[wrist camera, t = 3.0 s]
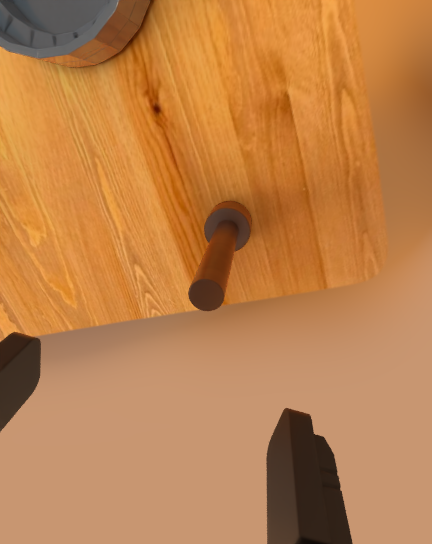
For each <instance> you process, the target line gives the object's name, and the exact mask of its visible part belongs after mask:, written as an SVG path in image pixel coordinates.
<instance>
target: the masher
mask: <svg viewBox="0 0 432 544" xmlns="http://www.w3.org/2000/svg"><path fill="white" fill-rule="evenodd" d="M250 231H251V217H250V214H249V212H248V210H247V209H246V208H245V207H244V206H243V205H241V204H239V203H237V202H233V201H226V202H222V203H220V204H218V205H217V206H215V207H214V208H213V210H212V211H211V213H210V215H209V217H208V218H207V220H206V223H205V227H204V232H205V237H206V239H207V241H208V242H209V245H208V247H207V249H206V252H205V254H204V256H203V258H202V261H201V263H200V265H199V268H198V270H197V272H196V275H195V277H194V279H193V281H192V284H191V286H190V288H189V293H188V295H189V299H190V301H191V303H192V304H193V305H194V306H195V307H196V308H198V309H200V310H203V311H212V310H215V309H217V308H218V307H220V306H221V304H222V303H223V301H224V297H225V292H226V288H227V283H228V278H229V274H230V269H231V265H232V260H233V256H234V251H237V250H239V249H241V248H242V247H243V246H244V245H245V244H246V243H247V241H248V239H249V237H250Z"/></svg>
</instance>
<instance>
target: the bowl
mask: <svg viewBox="0 0 432 544" xmlns="http://www.w3.org/2000/svg"><path fill="white" fill-rule="evenodd" d="M150 1H151V0H0V47H2V48H4V49H5V50H7V51H9V52H13V53H16V54H20V55H24V56H28V57H32V58H36V59H40V60H44V61H48V62H52V63H56V64H60V65H64V66H68V67H73V68H74V67H82V66H89V65H96V64H100V63H101V62H103V61H105V60H107V59H108V58H110V57H112V56H113V55H115V54H117V53H119V52H120V51H121V50H122V49H123V48H124V47H125V46H126V44H127V43H128V42H129V41H130V39H131V38H132V37H133V36H134V34H135V33H136V32H137V31H138V30H139V27H140V26H141V24H142V21H143V18H144V16H145V13H146V11H147V8H148V6H149V3H150Z"/></svg>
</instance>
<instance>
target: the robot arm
mask: <svg viewBox="0 0 432 544" xmlns="http://www.w3.org/2000/svg"><path fill="white" fill-rule="evenodd" d="M40 354H41V343H40V340H39V339H38V338H35V337H31V336H28V335H24V334H21V333H17V332H13V333H11V334H10V335H8V336H7V337H6V338H5V339H4V340H3V341H1V342H0V431H1V430H2V429H3V428H4V427H5V426H6V424H7V423H8V422H9V421H10V420H11V418H12V417H13V416H14V415H15V413H16V412H17V411H18V410H19V409H20V408H21V406H22V405H23V404H24V403H25V401H26V400H27V399H28V398H29V397H30V396H31V394H32V393H33V392H34V390H35V388H36V386H37V384H38V381H39V378H40ZM267 544H352V539H351V535H350V529H349V525H348V520H347V516H346V510H345V506H344V501H343V496H342V491H340V482H339V477H338V476H337V467H336V463H335V458H334V454H333V452H332V450H331V448H330V447H329V445H328V444H327V442H326V440H325V438H324V437H322V436H319V435H315V434H314V432H313V426H312V419H311V416H310V415H309V414H306V413H303V412H299V411H295V410H292V409H288V408H285V409H284V411H283V413H282V415H281V417H280V419H279V422H278V424H277V426H276V428H275V430H274V433H273V435H272V437H271V440H270V442H269V446H268V451H267Z"/></svg>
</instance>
